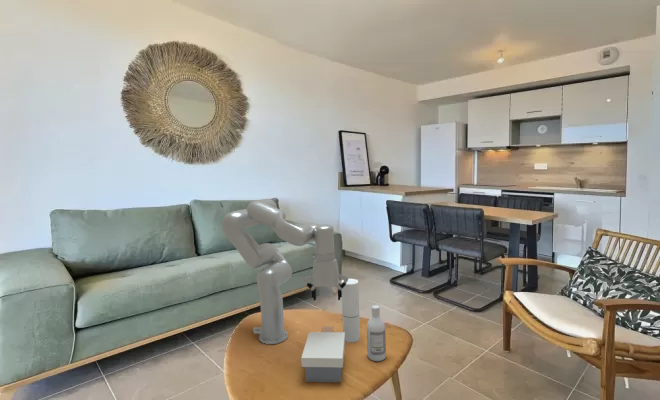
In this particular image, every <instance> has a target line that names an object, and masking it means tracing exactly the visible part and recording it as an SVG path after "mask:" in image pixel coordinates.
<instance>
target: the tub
mask: <svg viewBox="0 0 660 400" xmlns="http://www.w3.org/2000/svg"><path fill="white" fill-rule="evenodd" d="M304 369H305V371H304V372H305V383H306V382H307V383H308V382H309V383H341V382H342V371H343V368H342V367H304Z"/></svg>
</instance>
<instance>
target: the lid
mask: <svg viewBox="0 0 660 400" xmlns="http://www.w3.org/2000/svg"><path fill="white" fill-rule="evenodd" d="M345 346H346V341H345V332H343V331H341V332H339V331H336V332H335V331H334V326H333V325H322V327H321V331H310V332H309V331H308V335H307V338H306V341H305V345H304V348H303V351H302V354H301V357H300V358H301V360H300V362H301V367H302V368H305V367H342V369H343V368H344V361H345V360H344V358H345Z"/></svg>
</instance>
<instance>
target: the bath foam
mask: <svg viewBox="0 0 660 400" xmlns="http://www.w3.org/2000/svg"><path fill="white" fill-rule="evenodd" d="M380 308H381V307H380V305H377V304H376V305H375V304H374V305H372V306H371V316H370V318H369V319H368V321H367V323H366V338H367V339H366V346H367V347H366V349H367V350H366V351H367V358H368V359H370V360H371V361H373V362H382V361H383V360H385V359H386V356H387V355H386V353H387V351H386V350H387V348H386V347H387V346H386V345H387V344H386V325H385V321H384V320H383V319H382V317H381V314H380V311H381V310H380Z"/></svg>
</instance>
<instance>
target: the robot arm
mask: <svg viewBox="0 0 660 400" xmlns="http://www.w3.org/2000/svg"><path fill="white" fill-rule="evenodd" d="M221 222H222V223H221V227H222V232H223V234H224V236H225V238H226V239H227V240H228V241H229V242H230V243H231V244H232V245H233V247H234V248H235V249H236V250H237V252H238V253H239V255H240V256H241V258H242V259H243V260H244V261H245V263H246V264H247V266H248V267H250V268H251V269H253V270H257V269H260V268H262V267H263V268H262V269H261V270H260V271H259V272H258V273H257V275H256V283H257V288H258V291H259V302H260V303H259V304H260V319H261V326H258V327H257V326H256V327H255V326H254V327H252V332H253V335H258V341H259V340H260V341H261V342H262V343H261V342H260V341H259V342H260V343H261V344H264V343H265V344H264V345H277V344H280V343H282V342H285V340H287V339H288V336H289V332H288V331H287V330H286V329H285V319H284V299H283V294H282V291H281V290H280V286H281V285H282V284H284V283H286V282H287V281H289V280H290V279H291V278H292V275H293V269H292V266H291V265H290V264H289V261H287V259H286V258H285V257H284V255H283V254H282V253H281V252H280V250H279V249H278V247H276V246H275V245H274V244H272V243H269V242H265V243H261V244H259V243H257V241H256V240H255V239H254V237H253V236H252V235H251V234H249V232H246V231H245V230H243V229H247V228H251V227H255V226H257V225H258V224H262V225H264V226H266V227H268V228H270V229H272V230H274V233H275V234H276V235H277V237H278V238H279V239H280V240H282V241H285V242H286V243H289V244H290V245H292V246H296V247H303V246H305V245H307V244H310V243H313V242H314V250H315V252H314V253H312V254H311V258H314V260H313V261H312V274H311V275H308V276H307V277H306V276H305V278H304V284H305V285H306V287H308V288H309V290H310V291H311V298H312V299H313V301H316V300H317V289H316V288H327V287H328V288H331V287H333V288H335V287H336V288H337V300H338V301H341V298H342V289H343V288H344V287H345V285H346V283H347V281H348V279H349V277H347V276H345V275H344V274H341V273H340V272H339V265H338V259H337V258H336V256H335V255H336V254H335V232H334V226H333V225H331V224H318V223H313V222H308V223H305V224H301V225H299V226H297V225H294V224H292V223H290V222H289V221H288V222H287V221H286V212H285V211H284V210H281V209H280V208H278V205H277V203H276V202H275V201H274V200H272V199H270V198H262V199H256V200H253V201H251V202H249V203H248V204H247V206H246V208H243V209H237V210H233V211H230V212H228V213H226V214H225V215H224V216H223V219H222V221H221ZM310 280H312V282H310ZM340 280H344V282H343V283H342V284H341V282H340Z"/></svg>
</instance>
